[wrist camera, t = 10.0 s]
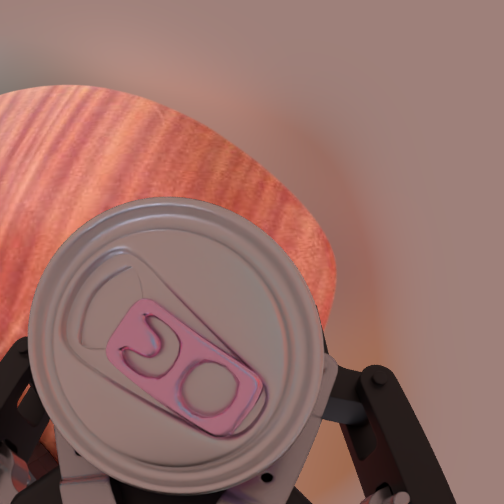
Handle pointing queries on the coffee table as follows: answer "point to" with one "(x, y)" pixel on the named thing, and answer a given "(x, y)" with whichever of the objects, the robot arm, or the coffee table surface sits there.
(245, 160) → the coffee table surface
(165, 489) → the beverage can
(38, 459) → the dark round dish
